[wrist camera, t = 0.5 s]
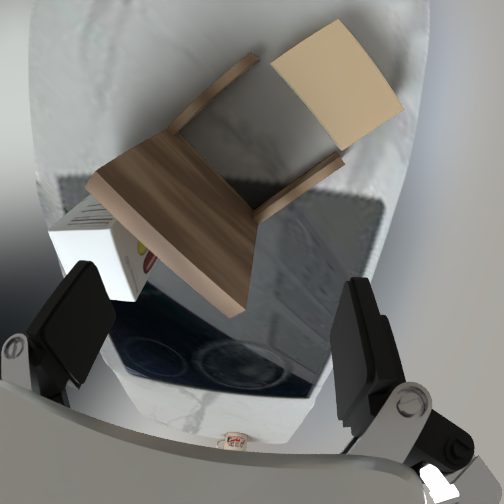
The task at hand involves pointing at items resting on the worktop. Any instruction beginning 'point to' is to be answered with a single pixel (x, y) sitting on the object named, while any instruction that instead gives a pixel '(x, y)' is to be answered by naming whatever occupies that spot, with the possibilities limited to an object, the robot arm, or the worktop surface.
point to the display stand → (194, 206)
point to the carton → (338, 84)
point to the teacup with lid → (234, 441)
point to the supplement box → (103, 248)
